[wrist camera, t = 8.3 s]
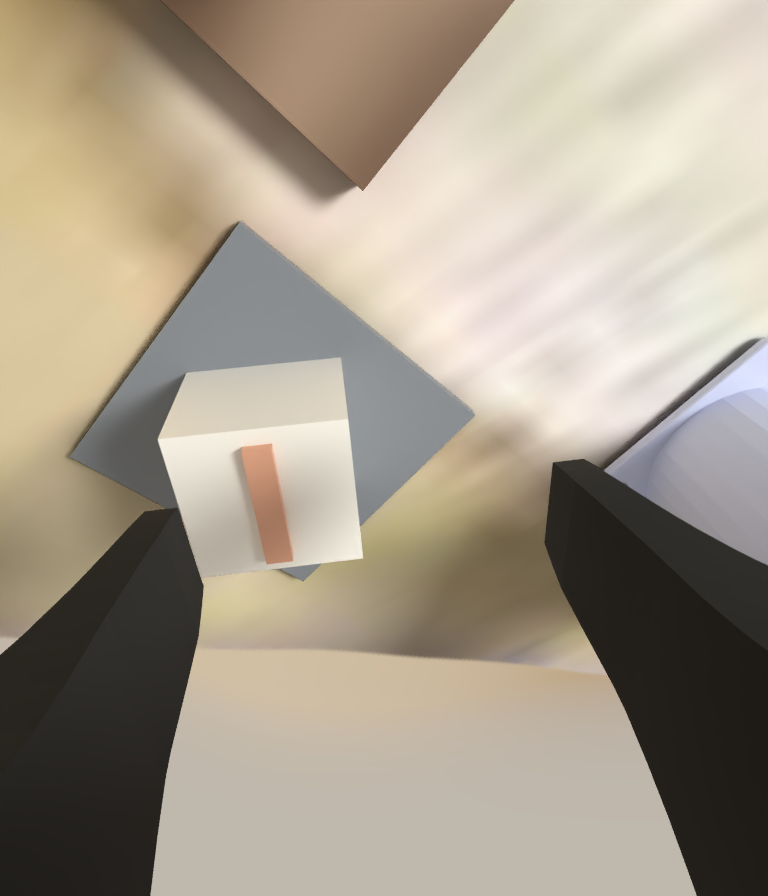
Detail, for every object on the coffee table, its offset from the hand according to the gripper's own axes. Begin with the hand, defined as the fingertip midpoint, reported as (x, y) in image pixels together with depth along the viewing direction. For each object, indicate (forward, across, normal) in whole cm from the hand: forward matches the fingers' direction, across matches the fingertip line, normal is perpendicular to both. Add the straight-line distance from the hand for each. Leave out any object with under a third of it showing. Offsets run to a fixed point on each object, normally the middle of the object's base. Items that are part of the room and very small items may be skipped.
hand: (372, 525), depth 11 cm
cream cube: (+9, +3, +3) cm, 10 cm away
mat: (+9, +3, +3) cm, 10 cm away
